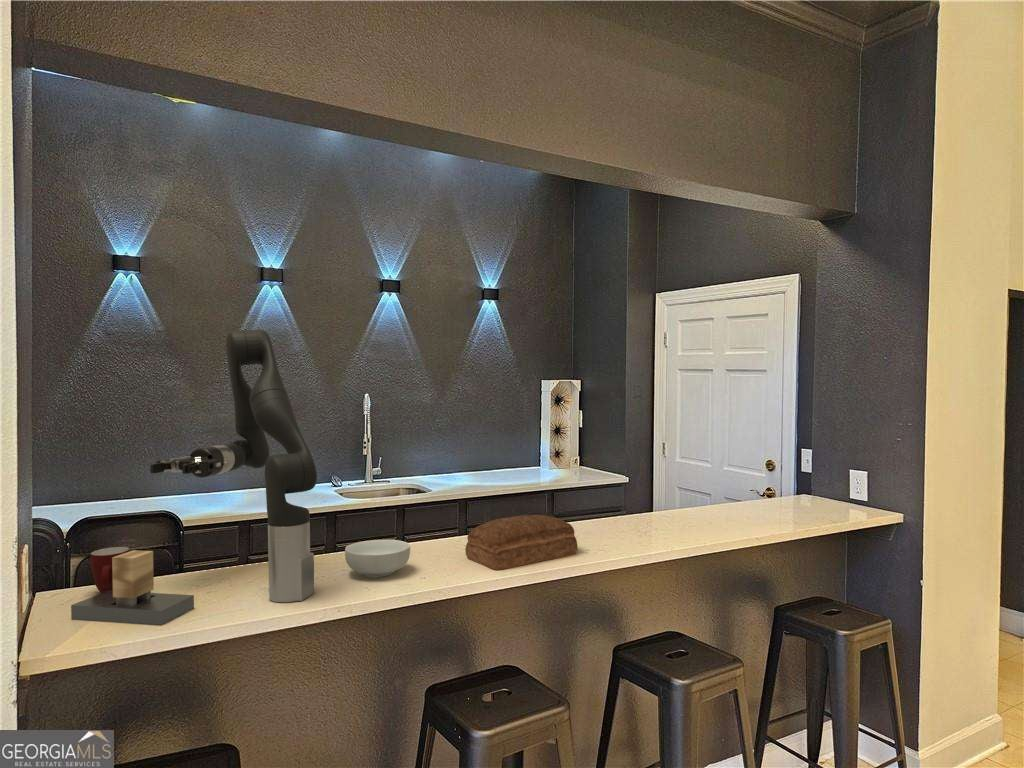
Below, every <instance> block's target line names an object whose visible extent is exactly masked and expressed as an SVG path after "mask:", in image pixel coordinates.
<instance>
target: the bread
mask: <svg viewBox="0 0 1024 768" xmlns="http://www.w3.org/2000/svg"><path fill="white" fill-rule="evenodd" d="M466 540H467V543H466V545H465V555H466V558H468V560H471V561H473V562H475V563H477V564H481V565H482V566H485V567H487V568H489V569H491V570H493V571H500V570H501V571H502V570H506V569H510V568H515V567H519V566H525V565H529V564H534V563H538V562H543V561H550V560H555V559H559V558H564V557H567V556H572V555H576V554H577V552H578V540H577V538H576V536H575V529H574V526H572V525H571V523H569V522H567V521H565V520H564V519H561V518H557V517H553V516H549V515H543V514H542V515H541V514H534V515H532V514H530V515H525V514H524V515H522V514H521V515H516V516H510V517H509V516H508V517H500V518H496V519H493V520H490V521H487V522H485V523H482V524H479V525H478V526H476V527H475V528H472V530H471V531H470V532H469V533H468V534H467V539H466Z"/></svg>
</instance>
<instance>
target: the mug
mask: <svg viewBox="0 0 1024 768" xmlns="http://www.w3.org/2000/svg"><path fill="white" fill-rule="evenodd" d="M130 551H131V550H130V548H129V547H127V546H126V547H125V546H116V547H115V546H114V547H106V548H102V549H101V548H100V549H97V550H94V551H92V552H91V553H90V558H89V560H90V568H91V573H92V576H93V582H94V586H95V587H96V589H97V590H98V591H99V594H101V593H103V592H106V591H108V590H110V591H113V574H112V557H115V556H118V555H121V554H124V553H127V552H130Z"/></svg>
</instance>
